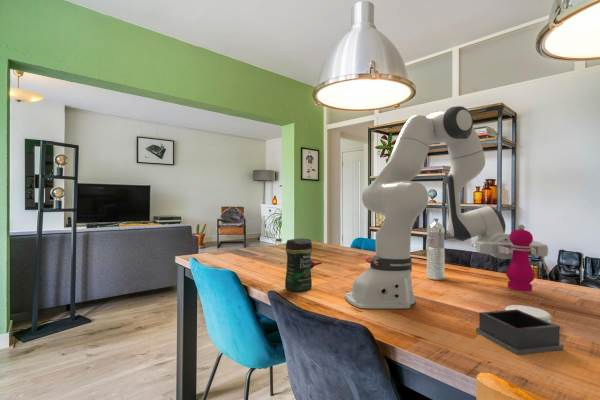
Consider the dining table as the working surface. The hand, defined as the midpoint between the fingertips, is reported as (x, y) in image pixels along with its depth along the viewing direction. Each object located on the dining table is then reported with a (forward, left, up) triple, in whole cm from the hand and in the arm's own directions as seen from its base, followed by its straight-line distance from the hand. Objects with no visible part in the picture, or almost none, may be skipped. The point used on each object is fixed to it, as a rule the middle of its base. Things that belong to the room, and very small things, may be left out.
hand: (522, 252), depth 98 cm
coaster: (-9, -11, -17) cm, 22 cm away
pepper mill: (0, +1, -12) cm, 12 cm away
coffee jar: (-63, +33, -17) cm, 73 cm away
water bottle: (-4, +37, -17) cm, 41 cm away
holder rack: (-21, -19, -17) cm, 33 cm away
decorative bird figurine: (-55, +55, -17) cm, 80 cm away
